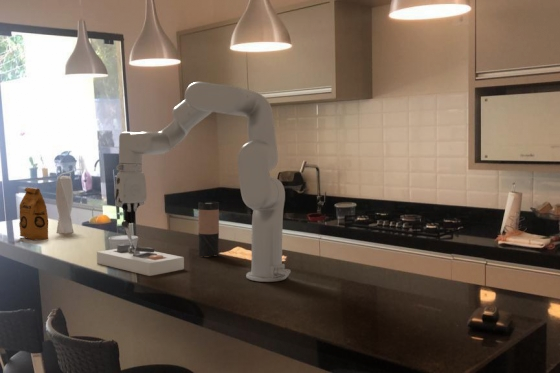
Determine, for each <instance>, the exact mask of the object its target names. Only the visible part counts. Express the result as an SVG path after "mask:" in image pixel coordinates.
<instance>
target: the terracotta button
mask: <svg viewBox="0 0 560 373" xmlns="http://www.w3.org/2000/svg"><path fill="white" fill-rule="evenodd" d="M150 259H152V260H159V259H163V255H151V256H150Z"/></svg>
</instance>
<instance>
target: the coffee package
mask: <svg viewBox="0 0 560 373" xmlns="http://www.w3.org/2000/svg"><path fill="white" fill-rule="evenodd" d="M24 191H25V194H24V196H23V197H22V199H21V201H20V202H19V203H20V204H19V223H18V225H19V236H20V237H22V238H26V239H28V240H32V241H41V240H48V239H49V218H48V210H47V206H46V202H45V199H44V198H43V195H42V192H41V190H40V188H34V187H33V188H32V187H25V189H24Z"/></svg>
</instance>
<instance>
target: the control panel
mask: <svg viewBox="0 0 560 373" xmlns="http://www.w3.org/2000/svg"><path fill="white" fill-rule="evenodd" d="M130 250H131V247H130V248H128V252H126V253H119V252H117V249H113V250H111V249H108V250H107V249H105V250H100V251H96V264H99V265H103V266H106V267H111V268H115V269H118V270H119V269H120V270H123V271H124V270H125V271H128V272H132V273H136V274H140V275H144V276H147V277H151V276H157V275H161V274H167V273H171V272H177V271H182V270H184V269H185V257H184V256H179V255H175V254H169V253H164V252H159V251H155V250H154V252H140V251H135V250H136V249H134V253H132V252H131V251H130ZM151 255H163V259H159V260H152V259H150V256H151Z"/></svg>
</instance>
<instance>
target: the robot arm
mask: <svg viewBox="0 0 560 373" xmlns="http://www.w3.org/2000/svg"><path fill="white" fill-rule="evenodd" d="M171 113H172V117H173V119H172V121H171V122H170V123H169V124H168V125H167V126H165V127H164V128H162V130H160V131H140V132H136V131H122V132H121V133H120V134H119V137H118V165H116V166H115V168H116V170H118V172H117V174H116V177H115V184H114V200H115V206H116V207H119V208H121V209H122V211H124V221H128V222H129V224H135V223H136V212H137V211H138V208H139V207H140V206H142V205H144V204H145V202H146V201H147V183H146V182H147V181H146V176H145V173H144V172H143V155H147V156H148V155H149V156H151V155H163V154H166V153H168V152H170V151H171V150H173V149H174V148H175V147H176V146H179V144H181V142H183V141H184V140H185V138H186V137H187V136H188V134H189V133H190V131H191V129H192V128H194V127H195V126H196V125H198V124H199V123H200V122H201V121H203V120H204V119H205V118H206V117H208V116H209V115H211V114H212V113H217V114H223V115H225V114H226V115H230V116H239V117H245V118H246V119H247V125H246V126H247V127H246V133H247V141H248V142H246V143H244V144H243V145H242V146H241V148H239V152H238V154H237V170H238V178H239V188H240V194H241V198H242V201H243V203H244V204H245V205H246V207H248V208H250V209H251V210H252V217H251V218H252V219H251V264H250V265H251V268H250V269H251V271H248V272H247V273H246V274H245V275H246V279H247V280H249V281H254V282H261V283H264V282H265V283H271V282H273V283H274V282H280V281H284V280H286V279H287V278H288V277H289V275H290V274H291V272H292V271H291V269H289V268H286V267H285V266H286V265H285V264H286V263H283V227H284V226H283V225H284V224H283V220H284V207H285V202H286V191H285V190H286V189H285V186H284V185H283V183H282V181H280V179H278V178H277V177H274V176H271V174H270V171H272V170H274V169H275V168H276V167H277V165H278V162H279V155H278V147H277V137H276V130H275V122H274V114H273V113H274V112H273V109H272V106H271V104H270V101H269V100H268V99H267V98H266V97H265V96H263V95H262V94H260V93H258V92H256V91H254V90H250V89H248V88H242V87H238V86H234V85H229V84H228V85H227V84H219V83H211V82H205V81H195V82H191V83H190V84H189V85H188V87H187V88H186V89H185V91H184V100H182V101H181V102H179V103H178V104H177V105H175V106H174V108H173V109H172V112H171Z"/></svg>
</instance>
